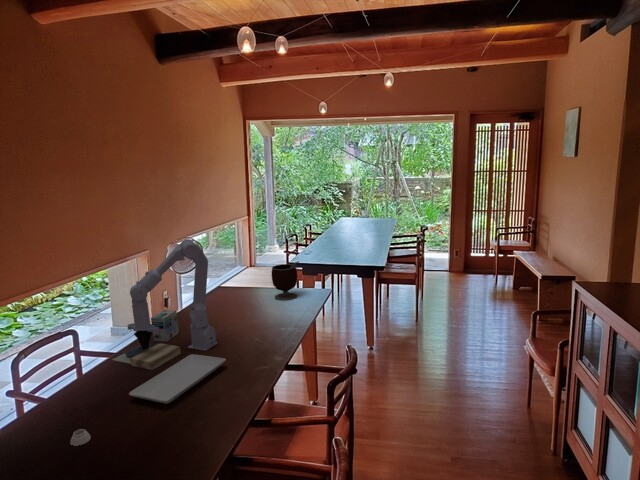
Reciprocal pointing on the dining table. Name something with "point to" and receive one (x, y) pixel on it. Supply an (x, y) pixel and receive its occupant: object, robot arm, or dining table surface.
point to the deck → (155, 356)
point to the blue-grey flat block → (135, 351)
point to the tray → (177, 378)
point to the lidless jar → (80, 437)
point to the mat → (123, 358)
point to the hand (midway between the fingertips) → (145, 348)
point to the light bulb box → (165, 325)
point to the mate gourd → (285, 280)
